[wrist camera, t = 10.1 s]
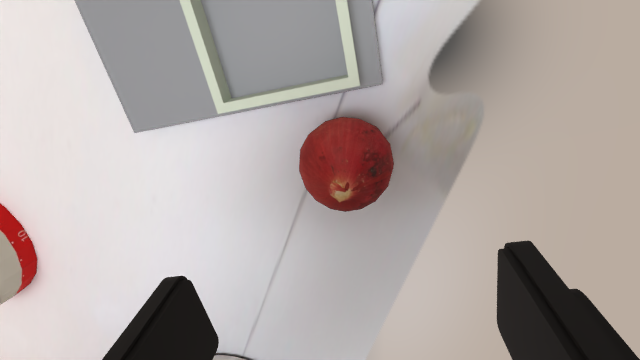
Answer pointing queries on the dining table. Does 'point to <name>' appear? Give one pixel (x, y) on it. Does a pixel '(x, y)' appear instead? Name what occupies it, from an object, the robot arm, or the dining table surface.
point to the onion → (346, 163)
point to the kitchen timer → (14, 256)
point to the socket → (227, 104)
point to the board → (223, 52)
